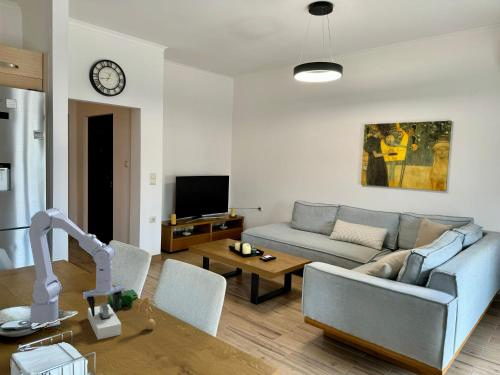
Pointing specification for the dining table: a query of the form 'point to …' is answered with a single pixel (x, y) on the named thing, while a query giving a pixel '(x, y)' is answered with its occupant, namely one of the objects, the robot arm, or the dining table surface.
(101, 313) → the bracket
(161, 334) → the dining table surface
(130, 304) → the clamp
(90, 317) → the white slotted block
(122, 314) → the dining table surface
